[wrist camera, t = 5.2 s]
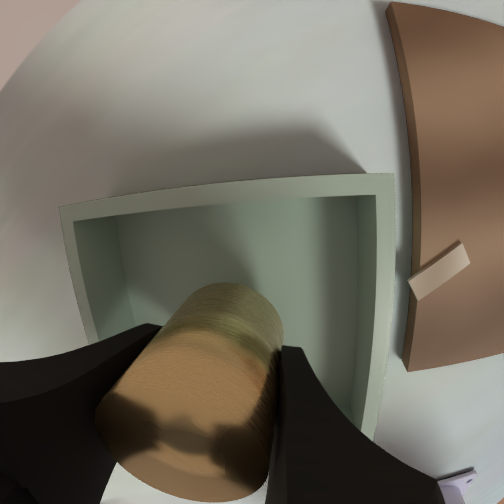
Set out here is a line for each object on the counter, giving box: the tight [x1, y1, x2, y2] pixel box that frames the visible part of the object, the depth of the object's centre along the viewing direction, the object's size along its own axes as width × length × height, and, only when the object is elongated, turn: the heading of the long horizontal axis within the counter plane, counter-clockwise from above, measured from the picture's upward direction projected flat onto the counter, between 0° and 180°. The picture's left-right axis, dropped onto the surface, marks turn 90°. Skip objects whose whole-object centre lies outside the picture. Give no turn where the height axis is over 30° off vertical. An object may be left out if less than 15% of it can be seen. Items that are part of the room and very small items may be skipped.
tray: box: [59, 173, 396, 441], centre depth 12 cm, size 11×11×4 cm
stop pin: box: [95, 282, 284, 502], centre depth 8 cm, size 4×4×6 cm
